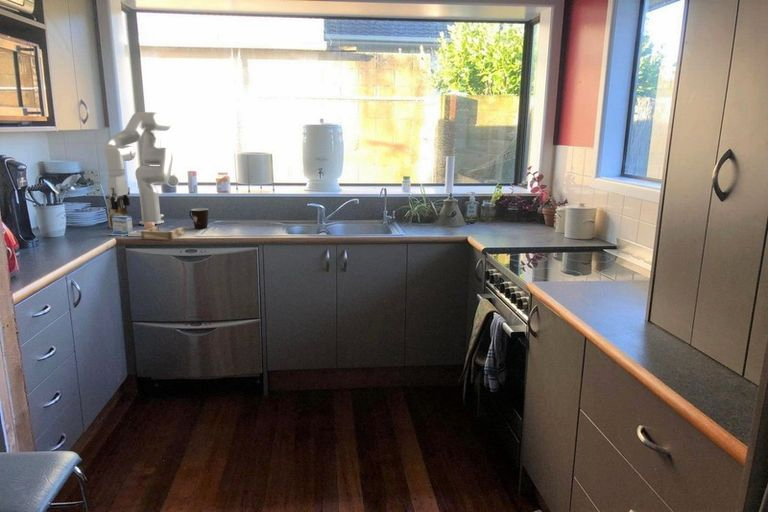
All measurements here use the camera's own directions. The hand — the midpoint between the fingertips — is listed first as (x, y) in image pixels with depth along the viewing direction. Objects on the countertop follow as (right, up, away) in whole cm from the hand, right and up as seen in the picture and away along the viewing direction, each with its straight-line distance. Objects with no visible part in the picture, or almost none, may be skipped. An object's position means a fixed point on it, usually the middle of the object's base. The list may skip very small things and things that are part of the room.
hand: (121, 207), depth 278 cm
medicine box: (0, -13, +3) cm, 13 cm away
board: (0, -13, +2) cm, 13 cm away
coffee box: (-11, -9, +21) cm, 26 cm away
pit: (+10, -14, -1) cm, 17 cm away
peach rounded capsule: (+11, -12, +8) cm, 18 cm away
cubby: (+22, -15, -3) cm, 27 cm away
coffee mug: (+33, -9, +20) cm, 40 cm away
